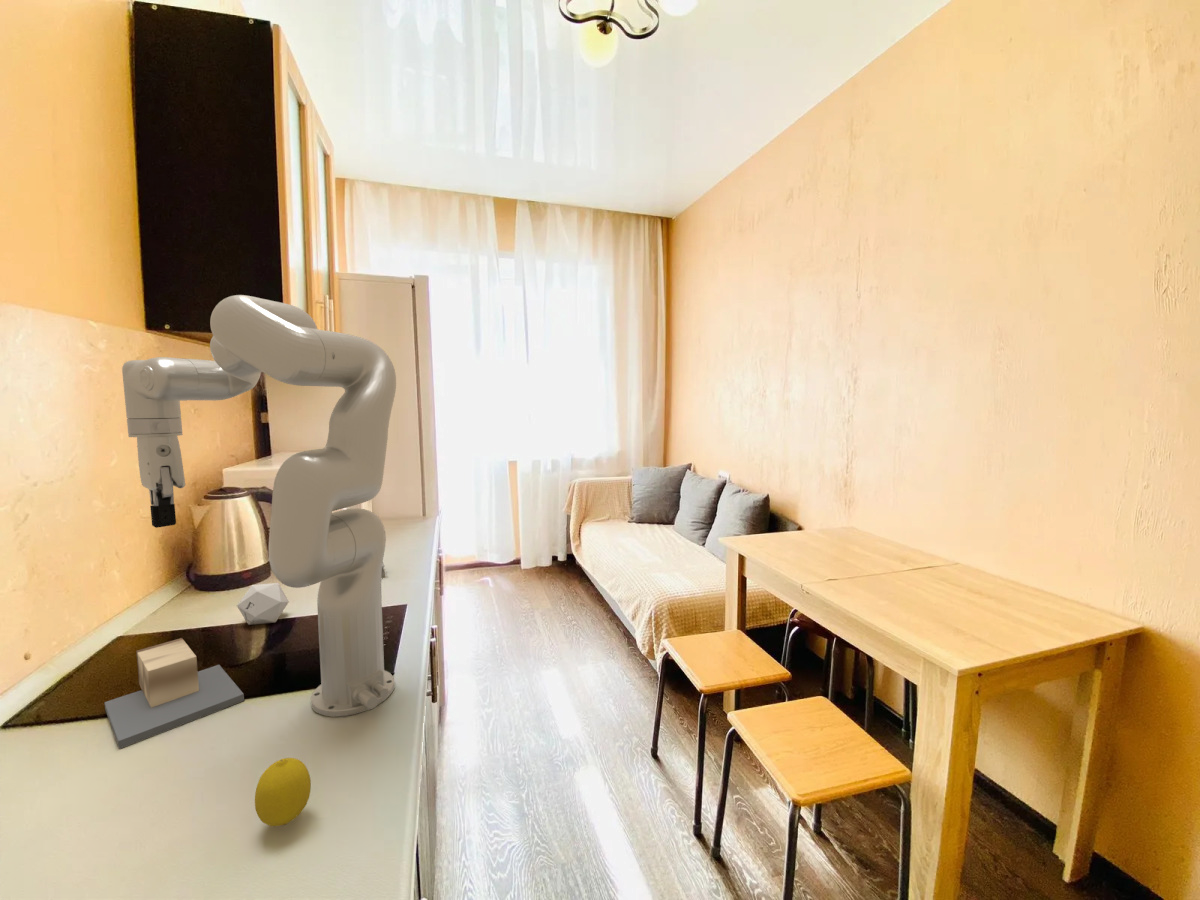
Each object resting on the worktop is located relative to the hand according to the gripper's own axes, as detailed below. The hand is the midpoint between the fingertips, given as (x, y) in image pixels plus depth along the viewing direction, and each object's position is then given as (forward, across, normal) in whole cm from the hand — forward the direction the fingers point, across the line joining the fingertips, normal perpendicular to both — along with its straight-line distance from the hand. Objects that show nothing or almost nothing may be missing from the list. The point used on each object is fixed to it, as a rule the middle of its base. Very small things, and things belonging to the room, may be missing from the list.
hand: (164, 525), depth 94 cm
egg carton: (+26, +16, -46) cm, 55 cm away
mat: (+26, -20, +4) cm, 33 cm away
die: (+26, +5, -16) cm, 31 cm away
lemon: (+27, -59, +2) cm, 65 cm away
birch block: (+22, -10, +4) cm, 24 cm away
